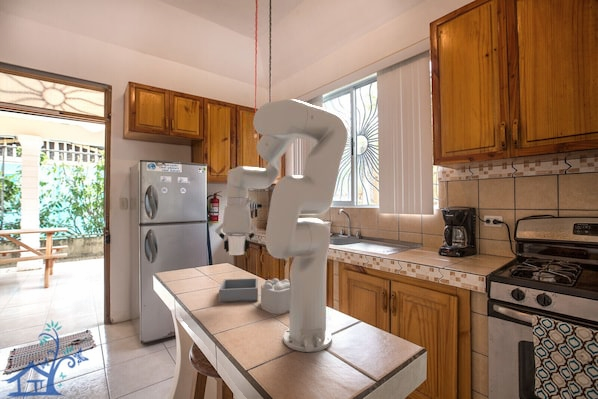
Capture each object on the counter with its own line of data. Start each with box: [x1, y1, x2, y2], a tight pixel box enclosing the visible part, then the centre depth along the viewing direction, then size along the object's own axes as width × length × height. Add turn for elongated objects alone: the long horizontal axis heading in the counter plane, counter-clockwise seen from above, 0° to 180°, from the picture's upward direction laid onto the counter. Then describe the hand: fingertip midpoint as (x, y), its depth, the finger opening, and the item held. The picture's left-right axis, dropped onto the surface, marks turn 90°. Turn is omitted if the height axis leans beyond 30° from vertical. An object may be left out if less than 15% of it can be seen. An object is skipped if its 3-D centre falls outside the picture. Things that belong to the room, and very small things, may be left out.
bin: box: [218, 277, 259, 304], centre depth 104 cm, size 14×14×5 cm
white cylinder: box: [227, 233, 246, 256], centre depth 100 cm, size 7×7×7 cm
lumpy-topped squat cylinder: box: [260, 277, 290, 315], centre depth 94 cm, size 10×13×9 cm
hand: (236, 250), depth 100 cm, fingers closed on white cylinder, 6 cm apart
